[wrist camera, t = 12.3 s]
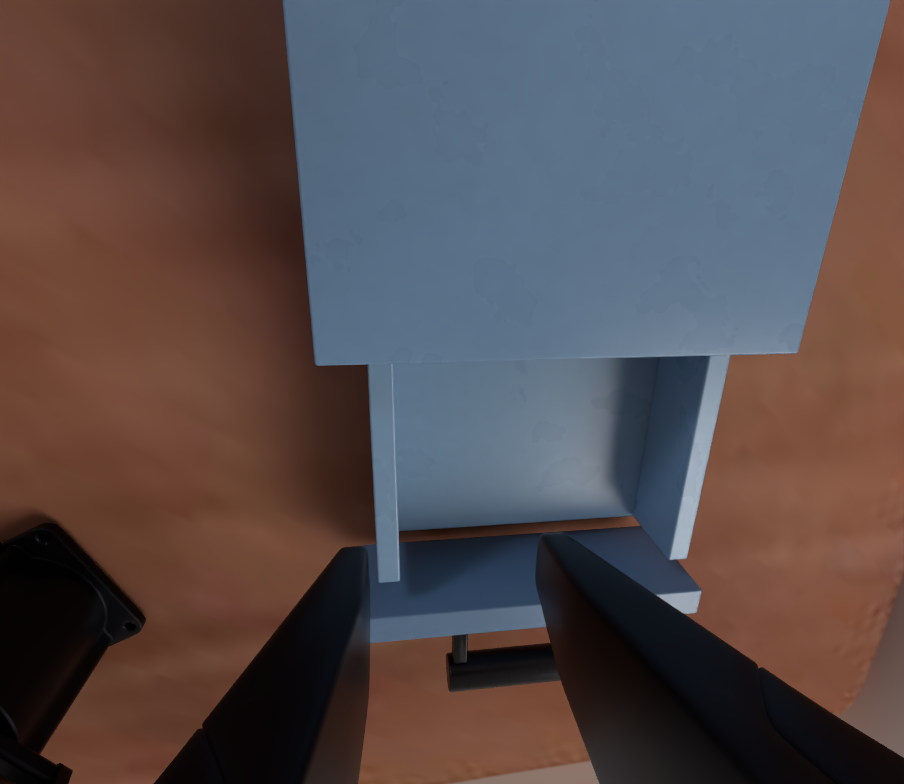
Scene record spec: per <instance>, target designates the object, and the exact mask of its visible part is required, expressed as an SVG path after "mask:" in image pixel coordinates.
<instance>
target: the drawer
mask: <svg viewBox="0 0 904 784" xmlns="http://www.w3.org/2000/svg"><path fill="white" fill-rule="evenodd" d="M729 359H730V355H718V356H679V357H640V358H600V359H561V360H522V361H482V362H443V363H404V364H367V373H368V393H369V412H370V432H371V451H372V471H373V491H374V510H375V530H376V544H373V545H364V546H365V547H366V548H367V549H368V558H369V576H370V643H377V642H387V641H398V640H409V639H420V638H431V637H441V636H452V652H451V653H447V655H446V670H447V681H448V688H449V691H450V692H456V691H465V690H475V689H484V688H494V687H503V686H512V685H522V684H531V683H541V682H550V681H559V680H561V679H560V676H559V672H558V669H557V665H556V661H555V658H554V654H553V650H552V646H551V643H545V644H534V645H524V646H513V647H503V648H493V649H482V650H472V651H467V647H468V634H474V633H485V632H496V631H506V630H517V629H528V628H539V627H546V623H545V619H544V615H543V611H542V607H541V603H540V600H539V596H538V592H537V588H536V581H535V570H536V558H537V547H538V540H539V537H540V536H541V535H542V534H545V533H533V534H518V535H504V536H489V537H474V538H460V539H445V540H431V541H416V542H402V543H399V531H411V530H426V529H441V528H456V527H471V526H486V525H501V524H517V523H532V522H547V521H562V520H577V519H592V518H608V517H623V516H634V518H635V519H636V520H637V521H638V523H639V524H640V525H641V526H634V527H620V528H605V529H591V530H576V531H562V533H565V534H567V535H569V536H570V537H572V538H573V539H574V540H576V541H577V542H579V543H580V544H582V545H583V546H585V547H586V548H588V549H589V550H591V551H592V552H594V553H595V554H597V555H598V556H599V557H601V558H602V559H604V560H605V561H607V562H608V563H610V564H611V565H613V566H614V567H616V568H617V569H619V570H620V571H622V572H623V573H624V574H626V575H627V576H629V577H630V578H632V579H633V580H635V581H636V582H638V583H639V584H641V585H642V586H644V587H645V588H647V589H648V590H649V591H651V592H652V593H654V594H655V595H657V596H658V597H660V598H661V599H663V600H664V601H666V602H667V603H669V604H670V605H672V606H673V607H674V608H676V609H677V610H679V611H680V612H682V613H683V614H690V613H696V612H697V609H698V605H699V601H700V596H701V592H702V590H701V588H700V587H699V586H698V585H697V584H696V582H695V581H694V580H693V579H692V578H691V576H690V575H689V574H688V573H687V572H686V570H685V569H684V568H683V567H682V566H681V564H680V563H679V562H678V561H677V560H676V559H686V558H687V555H688V551H689V546H690V541H691V537H692V532H693V527H694V523H695V518H696V513H697V509H698V504H699V499H700V495H701V490H702V485H703V481H704V476H705V471H706V467H707V462H708V457H709V453H710V448H711V443H712V439H713V434H714V429H715V425H716V420H717V415H718V411H719V406H720V401H721V397H722V392H723V387H724V383H725V378H726V373H727V369H728V364H729ZM547 533H559V532H547Z"/></svg>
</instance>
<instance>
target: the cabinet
mask: <svg viewBox="0 0 904 784" xmlns="http://www.w3.org/2000/svg"><path fill="white" fill-rule="evenodd" d="M282 3H283V14H284V26H285V37H286V48H287V59H288V70H289V81H290V93H291V104H292V115H293V126H294V137H295V149H296V160H297V171H298V182H299V193H300V204H301V216H302V227H303V238H304V249H305V260H306V271H307V283H308V294H309V305H310V316H311V327H312V339H313V350H314V361H315V364H316V365H318V366H325V365H364V364H404V363H443V362H482V361H522V360H561V359H600V358H640V357H679V356H718V355H758V354H795V353H797V352H798V350H799V346H800V342H801V338H802V335H803V331H804V327H805V323H806V319H807V316H808V312H809V308H810V304H811V300H812V297H813V293H814V289H815V285H816V281H817V278H818V274H819V270H820V266H821V262H822V259H823V255H824V251H825V247H826V243H827V240H828V236H829V232H830V228H831V224H832V221H833V217H834V213H835V209H836V205H837V202H838V198H839V194H840V190H841V186H842V183H843V179H844V175H845V171H846V167H847V164H848V160H849V156H850V152H851V148H852V145H853V141H854V137H855V133H856V129H857V126H858V122H859V118H860V114H861V110H862V107H863V103H864V99H865V95H866V91H867V88H868V84H869V80H870V76H871V72H872V69H873V65H874V61H875V57H876V53H877V50H878V46H879V42H880V38H881V34H882V31H883V27H884V23H885V19H886V15H887V12H888V8H889V4H890V0H282Z"/></svg>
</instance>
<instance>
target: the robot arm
mask: <svg viewBox="0 0 904 784" xmlns="http://www.w3.org/2000/svg"><path fill="white" fill-rule="evenodd" d="M45 534H47V535H49V536H50V537H47V536H45ZM535 581H536V588H537V592H538V596H539V600H540V603H541V607H542V611H543V615H544V619H545V623H546V627H547V631H548V634H549V638H550V642H551V646H552V650H553V654H554V658H555V661H556V665H557V669H558V672H559V676H560V679H561V682H562V685H563V688H564V691H565V694H566V696H567V699H568V701H569V704H570V707H571V709H572V712H573V715H574V717H575V720H576V723H577V725H578V728H579V731H580V733H581V736H582V739H583V741H584V744H585V747H586V749H587V752H588V755H589V757H590V760H591V763H592V765H593V768H594V771H595V773H596V776H597V779H598V781H599V784H904V758H903V757H902V756H900V755H898V754H897V753H895V752H893V751H892V750H890V749H888V748H887V747H885V746H884V745H882V744H880V743H879V742H877V741H875V740H874V739H872V738H870V737H869V736H867V735H866V734H864V733H862V732H861V731H859V730H858V729H856V728H854V727H853V726H851V725H849V724H848V723H846V722H845V721H843V720H841V719H840V718H838V717H837V716H835V715H834V714H832V713H830V712H829V711H827V710H826V709H824V708H823V707H821V706H820V705H818V704H817V703H815V702H814V701H812V700H811V699H809V698H808V697H806V696H805V695H803V694H802V693H800V692H799V691H797V690H795V689H794V688H792V687H791V686H789V685H788V684H786V683H785V682H784V681H782V680H781V679H779V678H778V677H776V676H775V675H773V674H772V673H770V672H769V671H767V670H766V669H764V668H762V667H761V668H759V669H758V666H757V664H756V663H755V662H754V661H752V660H751V659H749V658H748V657H746V656H745V655H744V654H742V653H741V652H739V651H738V650H736V649H735V648H733V647H732V646H730V645H729V644H727V643H726V642H724V641H723V640H721V639H720V638H719V637H717V636H716V635H714V634H713V633H711V632H710V631H708V630H707V629H705V628H704V627H702V626H701V625H699V624H698V623H696V622H695V621H694V620H692V619H691V618H689V617H688V616H686V615H685V614H683V613H682V612H680V611H679V610H677V609H676V608H674V607H673V606H672V605H670V604H669V603H667V602H666V601H664V600H663V599H661V598H660V597H658V596H657V595H655V594H654V593H652V592H651V591H649V590H648V589H647V588H645V587H644V586H642V585H641V584H639V583H638V582H636V581H635V580H633V579H632V578H630V577H629V576H627V575H626V574H624V573H623V572H622V571H620V570H619V569H617V568H616V567H614V566H613V565H611V564H610V563H608V562H607V561H605V560H604V559H602V558H601V557H599V556H598V555H597V554H595V553H594V552H592V551H591V550H589V549H588V548H586V547H585V546H583V545H582V544H580V543H579V542H577V541H576V540H574V539H573V538H572V537H570V536H569V535H567V534H565V533H562V532H559V533H545V534H542V535H541V536H540V537H539V540H538V547H537V558H536V570H535ZM130 622H132V623H134V624H132V623H130ZM145 622H146V618H145V617H144V615H143V614H142V613H141V612H140V611H139V610H138V609H137V608H136V607H135V606H134V605H133V603H132V602H131V601H130V600H129V599H128V598H127V597H126V596H125V595H124V594H123V593H122V592H121V591H120V590H119V589H118V588H117V587H116V586H115V585H114V583H113V582H112V581H111V580H110V579H109V578H108V577H107V576H106V575H105V574H104V573H103V572H102V571H101V570H100V569H99V568H98V567H97V566H96V565H95V563H94V562H93V561H92V560H91V559H90V558H89V557H88V556H87V555H86V554H85V553H84V552H83V551H82V550H81V549H80V548H79V547H78V546H77V545H76V543H75V542H74V541H73V540H72V539H71V538H70V537H69V536H68V535H67V534H66V533H65V532H64V531H63V530H62V529H61V528H60V527H59V526H58V525H56V524H53V523H44V524H41V525H39V526H37V527H34V528H32V529H30V530H28V531H26V532H24V533H22V534H20V535H18V536H16V537H13V538H11V539H9V540H7V541H5V542H3V543H0V784H68V783H69V780H70V777H71V775H72V771H73V770H71V769H70V768H68V767H66V766H65V765H63V764H61V763H59V764H57V765H56V764H55V763H53V762H51V761H50V760H48V759H46V758H45V757H43V756H41V755H40V753H41V752H42V750H43V749H44V747H45V745H46V744H47V742H48V741H49V739H50V738H51V736H52V734H53V733H54V731H55V730H56V728H57V727H58V725H59V723H60V722H61V720H62V719H63V717H64V716H65V714H66V713H67V711H68V709H69V708H70V706H71V705H72V703H73V702H74V700H75V698H76V697H77V695H78V694H79V692H80V691H81V689H82V687H83V686H84V684H85V683H86V681H87V680H88V678H89V676H90V675H91V673H92V672H93V670H94V669H95V667H96V666H97V664H98V662H99V661H100V659H101V658H102V656H103V655H104V653H105V651H106V650H107V648H108V647H109V646H111V645H113V644H116V643H118V642H120V641H122V640H124V639H126V638H129V637H131V636H133V635H135V634H137V633H138V632H140V631H141V629H142V627H143V626H144V624H145ZM369 672H370V576H369V558H368V549H367V548H366V547H365V546H357V547H344V548H342V549H340V550H339V551H338V553H337V554H336V555H335V556H334V558H333V559H332V560H331V562H330V563H329V564H328V565H327V567H326V568H325V569H324V570H323V572H322V573H321V574H320V575H319V577H318V578H317V579H316V581H315V582H314V583H313V584H312V586H311V587H310V588H309V589H308V591H307V592H306V593H305V594H304V596H303V597H302V598H301V600H300V601H299V602H298V603H297V605H296V606H295V607H294V608H293V610H292V611H291V612H290V613H289V615H288V616H287V617H286V618H285V620H284V621H283V622H282V624H281V625H280V626H279V627H278V629H277V630H276V631H275V632H274V634H273V635H272V636H271V637H270V639H269V640H268V641H267V643H266V644H265V645H264V646H263V648H262V649H261V650H260V651H259V653H258V654H257V655H256V656H255V658H254V659H253V660H252V662H251V663H250V664H249V665H248V667H247V668H246V669H245V670H244V672H243V673H242V674H241V675H240V677H239V678H238V679H237V681H236V682H235V683H234V684H233V686H232V687H231V688H230V689H229V691H228V692H227V693H226V694H225V696H224V697H223V698H222V700H221V701H220V702H219V703H218V705H217V706H216V707H215V708H214V710H213V711H212V712H211V713H210V715H209V716H208V717H207V718H206V720H205V721H204V722H203V725H202V727H203V729H202V728H200V729H198V730H197V731H196V732H195V733H194V734H193V736H192V737H191V738H190V740H189V741H188V742H187V743H186V745H185V746H184V747H183V748H182V750H181V751H180V752H179V753H178V755H177V756H176V757H175V759H174V760H173V761H172V762H171V763H170V765H169V766H168V767H167V768H166V769H165V771H164V772H163V773H162V774H161V775H160V777H159V778H158V779H157V780H156V781H155V783H154V784H358V780H359V772H360V764H361V756H362V749H363V741H364V733H365V725H366V718H367V708H368V699H369Z"/></svg>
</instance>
